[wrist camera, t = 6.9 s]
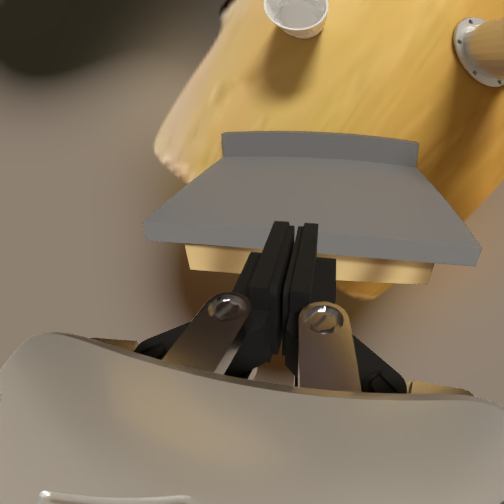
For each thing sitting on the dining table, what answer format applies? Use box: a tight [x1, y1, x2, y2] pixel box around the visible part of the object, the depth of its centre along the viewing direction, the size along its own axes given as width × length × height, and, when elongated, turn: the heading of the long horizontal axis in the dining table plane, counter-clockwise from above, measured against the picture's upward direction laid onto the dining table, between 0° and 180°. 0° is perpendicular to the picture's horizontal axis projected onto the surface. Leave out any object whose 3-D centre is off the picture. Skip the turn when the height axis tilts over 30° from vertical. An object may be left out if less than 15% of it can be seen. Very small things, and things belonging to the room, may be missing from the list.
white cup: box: [264, 0, 328, 39], centre depth 28 cm, size 8×8×10 cm
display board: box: [143, 131, 482, 266], centre depth 34 cm, size 32×10×26 cm, turn 93°
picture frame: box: [185, 243, 434, 284], centre depth 33 cm, size 24×3×18 cm, turn 93°
